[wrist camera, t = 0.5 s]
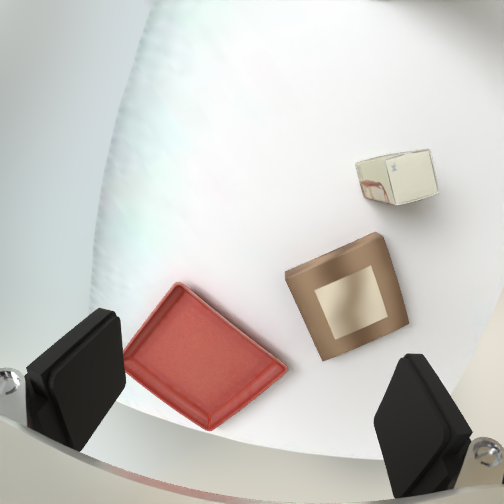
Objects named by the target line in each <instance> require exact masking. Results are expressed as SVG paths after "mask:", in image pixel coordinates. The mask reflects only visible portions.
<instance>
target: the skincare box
mask: <svg viewBox="0 0 504 504" xmlns="http://www.w3.org/2000/svg"><path fill="white" fill-rule="evenodd" d="M355 165H356V169H357V173H358V177H359V181H360V185H361V189H362V192H363V196H364V197H365V198H369V199H373V200H377V201H381V202H385V203H389V204H393V205H396V206H397V205H402V204H406V203H410V202H414V201H418V200H421V199H424V198H428V197H431V196H433V195H436V194H438V193H439V190H438V184H437V178H436V173H435V168H434V163H433V159H432V155H431V151H430V149H423V150H416V151H409V152H402V153H395V154H389V155H384V156H380V157H376V158H372V159H368V160H364V161H360V162H357V163H356V164H355Z"/></svg>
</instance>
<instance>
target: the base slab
mask: <svg viewBox="0 0 504 504" xmlns="http://www.w3.org/2000/svg"><path fill="white" fill-rule="evenodd" d="M285 280H286V282H287V285H288V287H289V289H290V291H291V293H292V295H293V298H294V300H295V302H296V304H297V306H298V308H299V311H300V313H301V315H302V317H303V319H304V322H305V324H306V326H307V328H308V330H309V333H310V335H311V337H312V339H313V341H314V344H315V346H316V348H317V350H318V353H319V355H320V357H321V359H322V361H325V360H328V359H331V358H333V357H336V356H338V355H341V354H343V353H346V352H348V351H350V350H353V349H355V348H358V347H360V346H362V345H364V344H367V343H369V342H371V341H374V340H376V339H378V338H380V337H382V336H385V335H387V334H389V333H391V332H393V331H395V330H397V329H400V328H402V327H404V326H406V325H408V324H409V320H408V316H407V312H406V309H405V305H404V301H403V298H402V294H401V291H400V287H399V284H398V281H397V277H396V274H395V271H394V268H393V265H392V262H391V258H390V255H389V252H388V249H387V247H386V244H385V241H384V238H383V236H381V235H380V234H378V233H377V232H374V233H372V234H369V235H367V236H365V237H363V238H361V239H358V240H356V241H354V242H352V243H349V244H347V245H345V246H343V247H340V248H338V249H336V250H334V251H331V252H329V253H327V254H325V255H322V256H320V257H318V258H315V259H313V260H311V261H309V262H306V263H304V264H302V265H299V266H297V267H295V268H292V269H290V270H288V271H285Z"/></svg>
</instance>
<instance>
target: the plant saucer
mask: <svg viewBox="0 0 504 504" xmlns="http://www.w3.org/2000/svg"><path fill="white" fill-rule="evenodd" d="M123 357H124V367H125V372H126V373H127V374H128V375H129V376H131V377H132V378H133V379H134V380H136V381H137V382H138V383H139V384H141V385H142V386H143V387H145V388H146V389H147V390H149V391H150V392H151V393H152V394H154V395H155V396H156V397H158V398H159V399H160V400H162V401H163V402H165V403H166V404H167V405H169V406H170V407H171V408H173V409H174V410H176V411H177V412H179V413H180V414H182V415H183V416H185V417H186V418H188V419H189V420H190V421H192V422H193V423H195V424H197V425H198V426H200V427H201V428H203V429H204V430H207V431H212V430H214V429H215V428H217V427H218V426H219V425H221V424H222V423H224V422H225V421H226V420H228V419H229V418H230V417H232V416H233V415H234V414H236V413H237V412H239V411H240V410H241V409H242V408H244V407H245V406H246V405H247V404H249V403H250V402H251V401H252V400H254V399H255V398H256V397H257V396H259V395H260V394H261V393H262V392H264V391H265V390H266V389H267V388H269V387H270V386H271V385H272V384H273V383H275V382H276V381H277V380H278V379H279V378H281V377H282V376H283V375H284V374H285V373H286V372H287V371H288V367H287V366H286V364H284V363H283V362H281V361H280V360H279V359H277V358H276V357H275V356H273V355H272V354H271V353H269V352H268V351H267V350H265V349H264V348H263V347H262V346H260V345H259V344H258V343H256V342H255V341H254V340H252V339H251V338H250V337H248V336H247V335H246V334H245V333H243V332H242V331H241V330H240V329H238V328H237V327H236V326H234V325H233V324H232V323H231V322H229V321H228V320H227V319H226V318H224V317H223V316H222V315H221V314H220V313H218V312H217V311H216V310H215V309H213V308H212V307H211V306H210V305H208V304H207V303H206V302H205V301H204V300H202V299H201V298H200V297H199V296H197V295H196V294H195V293H194V292H193V291H191V290H190V289H189V288H188V287H187V286H186V285H184V284H183V283H181V282H176V283H174V284H173V286H172V287H171V288H170V290H169V291H168V292H167V293H166V295H165V296H164V297H163V299H162V300H161V301H160V302H159V304H158V305H157V306H156V308H155V309H154V310H153V312H152V313H151V314H150V315H149V317H148V318H147V320H146V321H145V322H144V323H143V325H142V326H141V328H140V329H139V330H138V331H137V333H136V334H135V335H134V337H133V338H132V339H131V341H130V342H129V343H128V345H127V346H126V348H125V349H124V350H123Z"/></svg>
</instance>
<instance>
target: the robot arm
mask: <svg viewBox="0 0 504 504" xmlns="http://www.w3.org/2000/svg"><path fill="white" fill-rule="evenodd" d="M26 369H27V372H28V373H27V374H26V375H25V376H23V374H22V373H21V372H20V371H18V370H16V369H13V368H1V369H0V504H316V503H288V502H274V501H263V500H253V499H245V498H238V497H231V496H225V495H219V494H214V493H208V492H203V491H199V490H194V489H189V488H185V487H181V486H177V485H173V484H169V483H165V482H162V481H158V480H155V479H151V478H148V477H144V476H141V475H138V474H135V473H132V472H129V471H126V470H123V469H121V468H118V467H115V466H112V465H110V464H107V463H105V462H102V461H99V460H97V459H94V458H92V457H90V456H88V455H85V454H83V453H80V451H81V450H82V449H83V448H84V446H85V444H86V443H87V442H88V440H89V439H90V437H91V436H92V434H93V433H94V431H95V430H96V428H97V427H98V426H99V424H100V423H101V421H102V420H103V418H104V417H105V415H106V414H107V412H108V411H109V409H110V408H111V407H112V405H113V404H114V402H115V401H116V399H117V398H118V397H119V395H120V394H121V392H122V391H123V389H124V388H125V384H126V375H125V367H124V357H123V347H122V335H121V322H120V318H119V317H117V316H116V313H115V312H114V311H110V310H106V309H102V308H98V309H97V310H95V311H94V312H93V313H92V314H90V315H89V316H88V317H87V318H85V319H84V320H83V321H82V322H80V323H79V324H78V325H77V326H75V327H74V328H73V329H72V330H71V331H69V332H68V333H67V334H66V335H65V336H63V337H62V338H61V339H59V340H58V341H57V342H56V343H55V344H54V345H52V346H51V347H50V348H49V349H47V350H46V351H45V352H44V353H43V354H41V355H40V356H39V357H38V358H37V359H36V360H34V361H33V362H32V363H31V364H30V365H29V366H27V367H26ZM374 427H375V431H376V434H377V437H378V441H379V444H380V448H381V451H382V455H383V458H384V462H385V465H386V469H387V473H388V477H389V480H390V484H391V488H392V492H393V495H394V497H395V498H396V499H390V500H382V501H381V500H380V501H370V502H356V503H325V504H504V448H503V447H502V446H501V445H500V444H499V443H498V442H497V441H495V440H493V439H491V438H487V437H479V438H476V439H474V440H473V441H472V442H471V440H470V438H469V437H470V436H471V434H472V433H473V432H472V430H471V429H470V427H469V425H468V423H467V422H466V420H465V419H464V417H463V415H462V414H461V412H460V410H459V409H458V407H457V406H456V404H455V402H454V401H453V399H452V398H451V396H450V394H449V393H448V391H447V390H446V388H445V387H444V385H443V384H442V382H441V380H440V379H439V377H438V376H437V374H436V373H435V371H434V370H433V368H432V367H431V365H430V364H429V363H428V361H427V360H426V358H425V357H424V355H423V354H406V355H405V356H404V358H400V360H399V361H398V364H397V366H396V369H395V371H394V374H393V376H392V379H391V381H390V384H389V386H388V388H387V390H386V393H385V395H384V397H383V400H382V402H381V404H380V406H379V408H378V410H377V412H376V415H375V417H374ZM317 504H319V503H317ZM320 504H322V503H320ZM323 504H324V503H323Z"/></svg>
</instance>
